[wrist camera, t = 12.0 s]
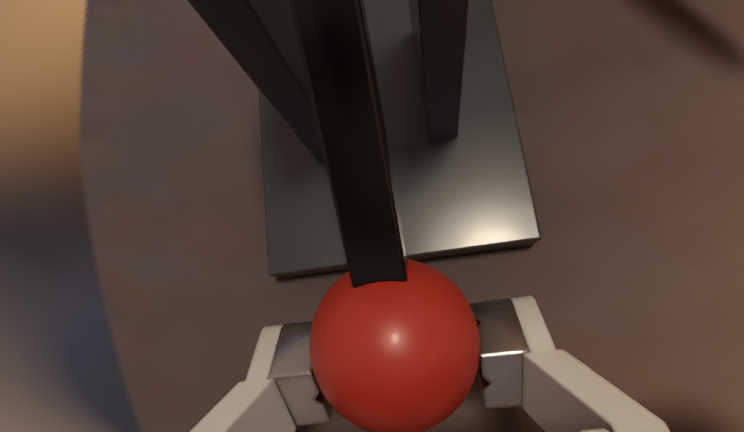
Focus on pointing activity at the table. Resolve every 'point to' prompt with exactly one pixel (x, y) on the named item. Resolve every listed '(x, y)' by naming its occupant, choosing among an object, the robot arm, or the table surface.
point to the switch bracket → (390, 130)
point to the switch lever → (376, 252)
